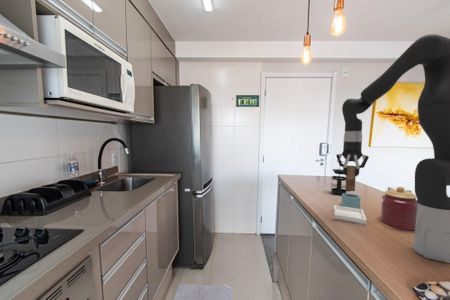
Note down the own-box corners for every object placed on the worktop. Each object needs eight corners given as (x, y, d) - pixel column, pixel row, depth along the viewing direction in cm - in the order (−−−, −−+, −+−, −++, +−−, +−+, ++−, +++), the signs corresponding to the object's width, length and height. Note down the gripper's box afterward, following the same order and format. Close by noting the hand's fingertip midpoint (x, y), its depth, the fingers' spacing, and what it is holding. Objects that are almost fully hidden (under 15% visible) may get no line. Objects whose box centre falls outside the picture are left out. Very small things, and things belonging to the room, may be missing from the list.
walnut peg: (355, 191, 98) (356, 167, 97) (345, 190, 100) (346, 166, 99) (354, 189, 101) (355, 165, 100) (345, 188, 103) (346, 165, 102)
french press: (330, 195, 137) (331, 161, 135) (329, 191, 146) (330, 160, 144) (350, 197, 132) (352, 162, 131) (348, 193, 141) (350, 161, 139)
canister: (421, 234, 84) (424, 192, 83) (382, 226, 91) (384, 188, 90) (413, 222, 95) (415, 185, 94) (378, 216, 102) (380, 182, 101)
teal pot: (360, 211, 108) (361, 199, 108) (341, 208, 112) (342, 196, 112) (358, 206, 116) (359, 194, 115) (341, 204, 120) (341, 192, 119)
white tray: (366, 225, 92) (366, 220, 92) (333, 219, 98) (334, 214, 98) (362, 214, 105) (362, 209, 105) (334, 209, 111) (334, 205, 111)
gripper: (335, 140, 99) (334, 175, 100) (371, 141, 92) (369, 178, 93) (335, 140, 105) (334, 172, 107) (369, 140, 98) (367, 175, 100)
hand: (350, 175), depth 100 cm, fingers closed on walnut peg, 4 cm apart
